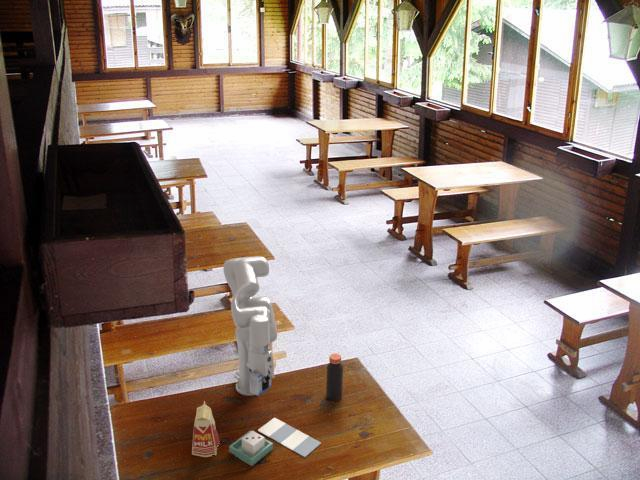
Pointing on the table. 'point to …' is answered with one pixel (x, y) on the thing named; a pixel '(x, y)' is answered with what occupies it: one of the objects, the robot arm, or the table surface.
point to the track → (289, 437)
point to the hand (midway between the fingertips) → (260, 386)
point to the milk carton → (204, 433)
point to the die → (252, 443)
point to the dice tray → (237, 451)
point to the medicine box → (257, 383)
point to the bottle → (334, 378)
